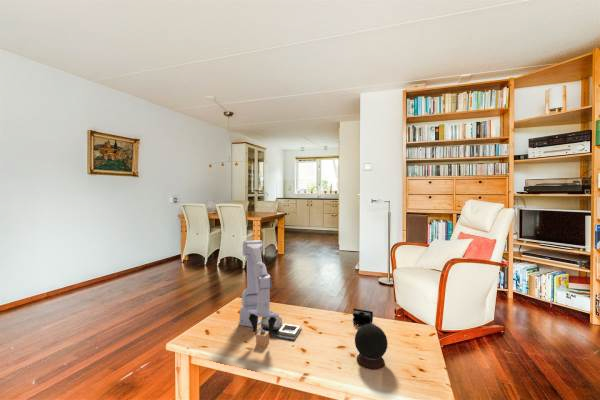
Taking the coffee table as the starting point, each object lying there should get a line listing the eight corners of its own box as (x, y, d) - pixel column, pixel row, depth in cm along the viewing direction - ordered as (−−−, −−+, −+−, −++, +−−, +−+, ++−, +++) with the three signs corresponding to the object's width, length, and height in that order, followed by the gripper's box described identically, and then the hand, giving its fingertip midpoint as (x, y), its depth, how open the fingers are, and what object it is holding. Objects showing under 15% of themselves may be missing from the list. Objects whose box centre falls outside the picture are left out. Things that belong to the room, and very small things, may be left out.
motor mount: (255, 334, 141) (255, 320, 141) (265, 323, 152) (265, 310, 152) (294, 340, 135) (294, 326, 135) (301, 329, 146) (301, 315, 146)
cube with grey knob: (256, 345, 130) (256, 332, 130) (260, 340, 135) (260, 327, 135) (265, 347, 129) (265, 333, 129) (269, 342, 133) (269, 329, 133)
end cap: (373, 322, 157) (373, 309, 157) (370, 327, 150) (371, 314, 150) (354, 318, 161) (354, 306, 160) (351, 323, 154) (352, 311, 154)
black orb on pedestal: (386, 355, 124) (387, 321, 123) (387, 374, 111) (388, 335, 111) (355, 350, 127) (356, 317, 127) (352, 367, 115) (353, 330, 114)
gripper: (244, 303, 130) (244, 333, 130) (274, 307, 126) (274, 338, 126) (251, 298, 137) (251, 326, 137) (280, 302, 132) (280, 331, 133)
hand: (262, 332), depth 132 cm, fingers open, 7 cm apart
